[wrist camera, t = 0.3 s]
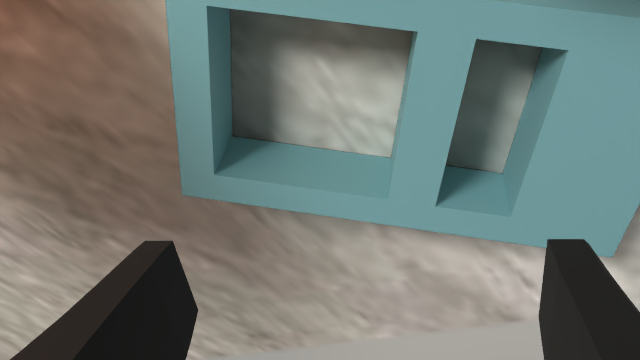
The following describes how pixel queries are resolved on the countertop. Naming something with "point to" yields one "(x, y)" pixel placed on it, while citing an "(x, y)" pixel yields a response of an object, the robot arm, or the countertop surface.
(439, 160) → the holder
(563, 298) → the robot arm
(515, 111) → the countertop surface
